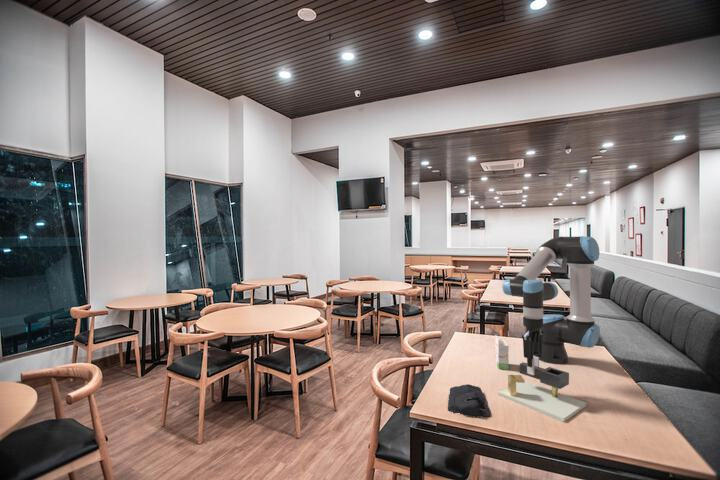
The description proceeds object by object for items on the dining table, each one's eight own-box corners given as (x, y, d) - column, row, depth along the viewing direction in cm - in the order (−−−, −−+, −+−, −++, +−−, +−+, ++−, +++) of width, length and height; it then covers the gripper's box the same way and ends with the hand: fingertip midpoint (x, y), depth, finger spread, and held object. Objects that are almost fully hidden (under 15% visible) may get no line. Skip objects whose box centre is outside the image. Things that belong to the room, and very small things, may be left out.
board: (522, 382, 149) (522, 380, 149) (586, 405, 128) (586, 402, 128) (498, 395, 138) (498, 392, 138) (563, 422, 117) (563, 418, 117)
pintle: (553, 394, 135) (553, 375, 135) (558, 396, 133) (558, 377, 133) (550, 396, 134) (550, 376, 134) (556, 398, 132) (556, 378, 132)
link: (568, 384, 132) (569, 372, 132) (560, 389, 128) (560, 377, 128) (526, 370, 146) (526, 359, 146) (516, 374, 142) (516, 363, 142)
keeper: (520, 394, 138) (520, 375, 138) (524, 400, 133) (524, 380, 133) (507, 393, 139) (507, 374, 139) (511, 399, 134) (511, 379, 134)
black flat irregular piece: (486, 393, 141) (486, 381, 141) (491, 420, 120) (491, 407, 119) (448, 388, 145) (448, 377, 145) (447, 414, 124) (446, 401, 124)
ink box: (509, 369, 163) (509, 339, 163) (498, 369, 164) (498, 339, 164) (505, 363, 172) (505, 334, 172) (495, 362, 173) (494, 334, 173)
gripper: (533, 312, 148) (533, 365, 148) (513, 318, 138) (514, 374, 139) (551, 316, 142) (551, 371, 142) (532, 321, 132) (532, 380, 132)
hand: (533, 372), depth 140 cm, fingers closed on link, 3 cm apart
